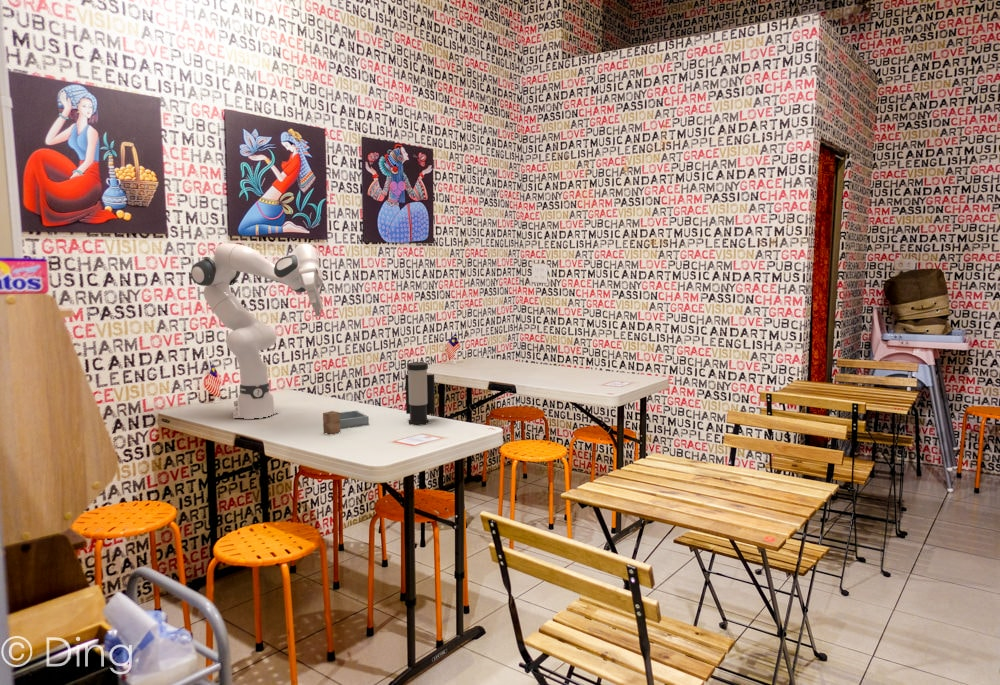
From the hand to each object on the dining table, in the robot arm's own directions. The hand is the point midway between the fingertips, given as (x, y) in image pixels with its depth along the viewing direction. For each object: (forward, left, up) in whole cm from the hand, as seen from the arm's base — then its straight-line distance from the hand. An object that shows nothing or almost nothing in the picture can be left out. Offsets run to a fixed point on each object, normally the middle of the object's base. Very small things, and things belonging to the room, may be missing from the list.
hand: (315, 309), depth 267 cm
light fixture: (+10, +38, -48) cm, 62 cm away
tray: (-4, +12, -48) cm, 50 cm away
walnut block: (+7, +2, -48) cm, 48 cm away
